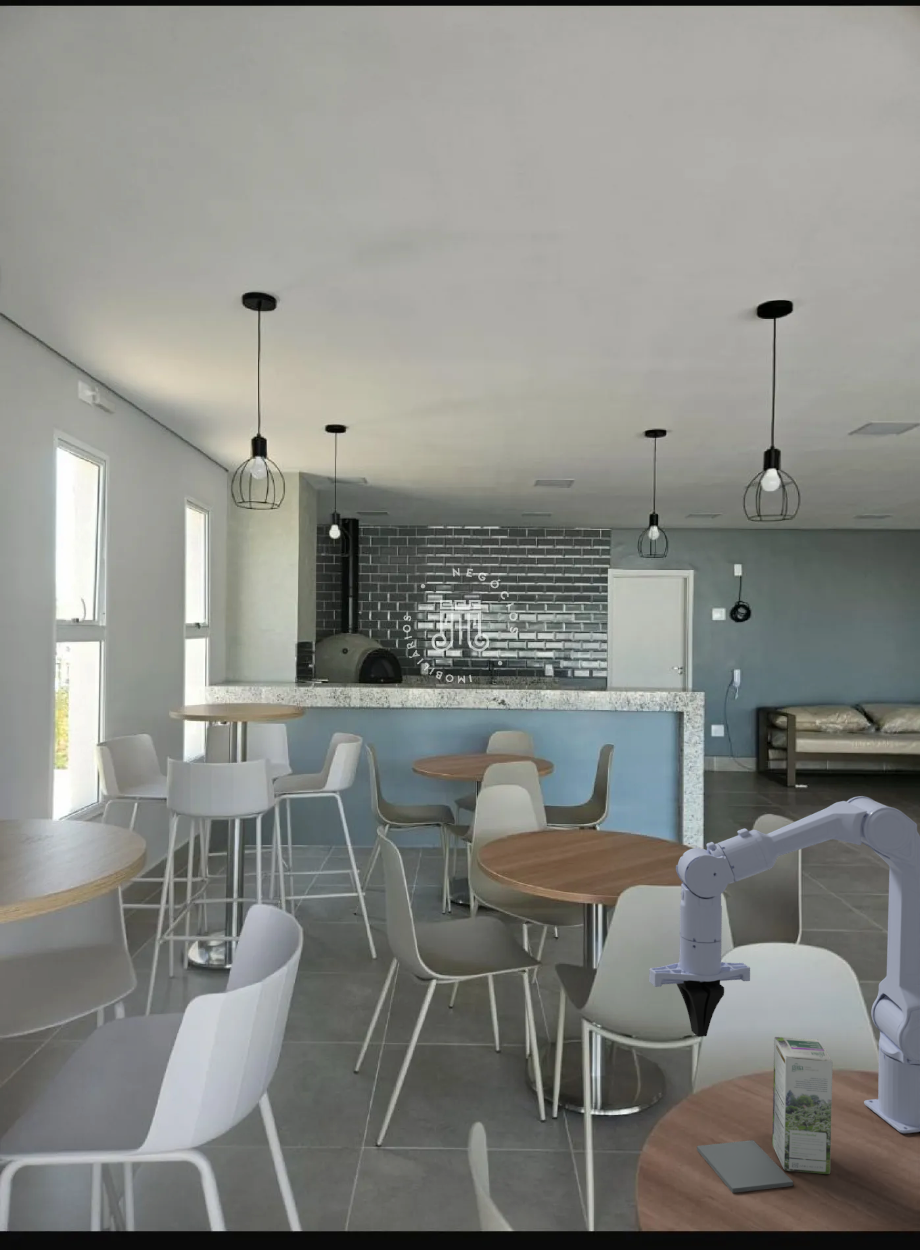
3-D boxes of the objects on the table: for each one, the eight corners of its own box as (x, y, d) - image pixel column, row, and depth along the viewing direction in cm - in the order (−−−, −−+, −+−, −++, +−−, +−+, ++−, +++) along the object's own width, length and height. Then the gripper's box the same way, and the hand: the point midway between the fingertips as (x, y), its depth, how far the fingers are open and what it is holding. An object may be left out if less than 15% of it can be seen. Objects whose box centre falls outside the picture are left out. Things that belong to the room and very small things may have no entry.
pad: (753, 1143, 114) (753, 1139, 114) (793, 1185, 105) (793, 1181, 105) (696, 1149, 113) (696, 1145, 113) (732, 1192, 104) (732, 1188, 104)
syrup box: (817, 1149, 113) (818, 1036, 114) (831, 1176, 107) (833, 1057, 108) (771, 1146, 114) (773, 1033, 114) (783, 1173, 108) (785, 1054, 108)
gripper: (732, 925, 129) (731, 1017, 129) (641, 929, 126) (639, 1024, 126) (758, 941, 122) (757, 1039, 122) (662, 946, 119) (660, 1046, 119)
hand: (699, 1033), depth 123 cm, fingers closed
